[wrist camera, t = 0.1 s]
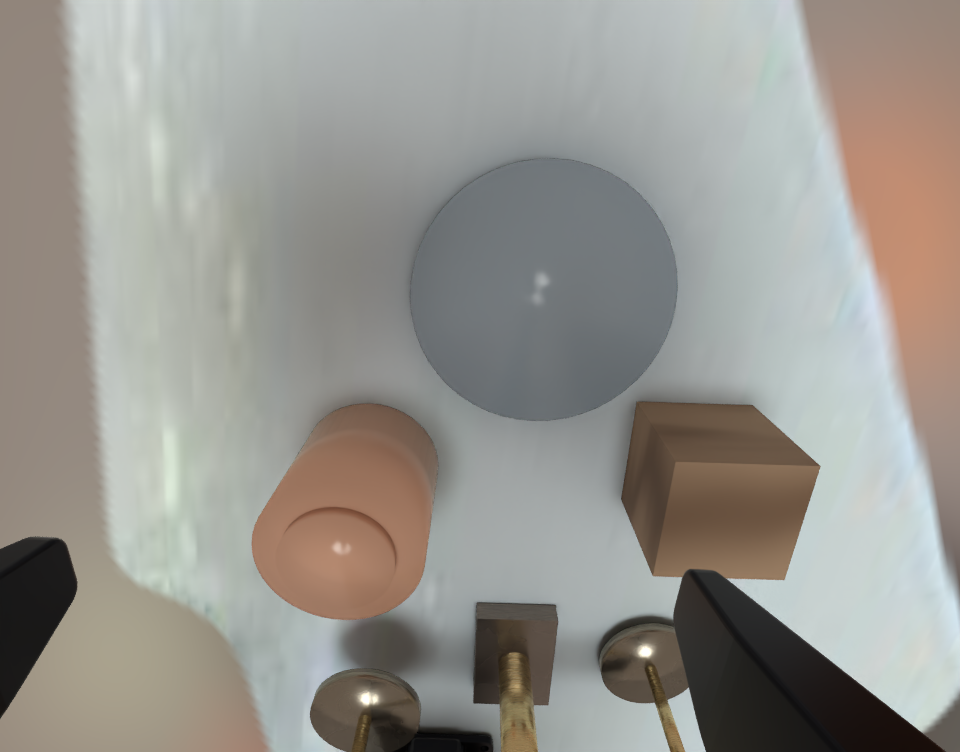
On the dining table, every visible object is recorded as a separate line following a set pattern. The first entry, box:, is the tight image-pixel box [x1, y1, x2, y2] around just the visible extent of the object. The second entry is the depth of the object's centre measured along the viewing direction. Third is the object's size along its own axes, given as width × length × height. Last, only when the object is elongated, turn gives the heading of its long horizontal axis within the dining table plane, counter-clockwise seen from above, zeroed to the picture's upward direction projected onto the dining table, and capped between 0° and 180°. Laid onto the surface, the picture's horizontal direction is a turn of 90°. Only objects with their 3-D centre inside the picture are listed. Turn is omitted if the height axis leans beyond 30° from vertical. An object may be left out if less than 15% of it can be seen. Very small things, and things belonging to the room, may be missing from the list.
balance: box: [310, 603, 689, 752], centre depth 24 cm, size 6×19×9 cm, turn 88°
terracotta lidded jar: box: [252, 404, 438, 620], centre depth 21 cm, size 6×6×6 cm
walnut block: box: [621, 402, 820, 580], centre depth 21 cm, size 5×5×5 cm
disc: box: [410, 158, 677, 421], centre depth 20 cm, size 10×10×1 cm
